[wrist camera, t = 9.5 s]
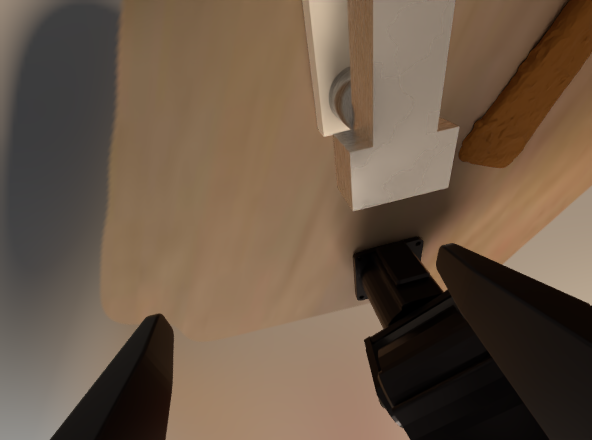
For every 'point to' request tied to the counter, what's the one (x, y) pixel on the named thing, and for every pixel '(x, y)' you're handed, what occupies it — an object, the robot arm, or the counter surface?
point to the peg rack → (329, 63)
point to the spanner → (396, 102)
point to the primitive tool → (532, 89)
